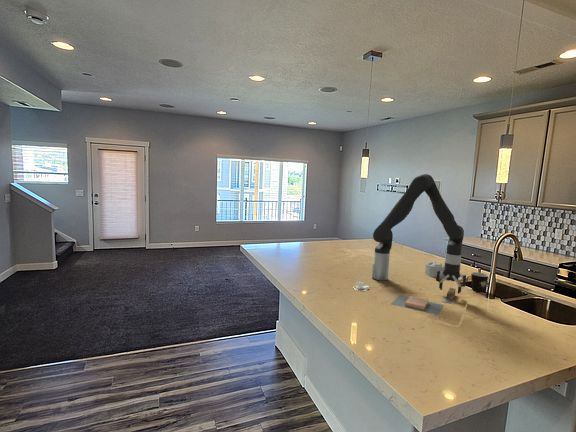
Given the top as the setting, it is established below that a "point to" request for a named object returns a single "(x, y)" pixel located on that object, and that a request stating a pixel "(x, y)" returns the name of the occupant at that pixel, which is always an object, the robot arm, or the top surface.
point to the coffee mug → (478, 281)
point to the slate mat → (431, 308)
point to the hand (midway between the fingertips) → (449, 291)
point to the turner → (449, 296)
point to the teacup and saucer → (361, 286)
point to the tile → (417, 303)
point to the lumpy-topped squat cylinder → (433, 269)
